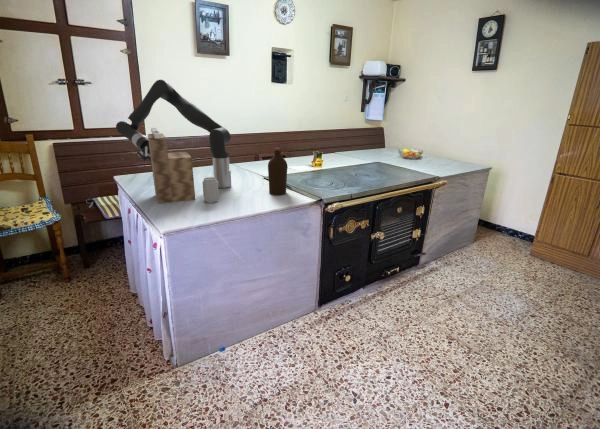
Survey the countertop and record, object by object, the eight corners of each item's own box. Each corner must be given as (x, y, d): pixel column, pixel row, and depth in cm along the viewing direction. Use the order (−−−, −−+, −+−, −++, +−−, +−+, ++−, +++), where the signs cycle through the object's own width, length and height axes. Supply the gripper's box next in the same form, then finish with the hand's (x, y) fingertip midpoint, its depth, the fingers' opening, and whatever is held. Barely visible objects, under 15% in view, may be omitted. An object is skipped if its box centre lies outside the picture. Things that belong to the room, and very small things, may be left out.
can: (204, 203, 171) (202, 180, 167) (203, 199, 178) (202, 176, 174) (219, 203, 173) (218, 179, 169) (218, 198, 180) (217, 176, 175)
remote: (156, 131, 181) (156, 127, 180) (161, 138, 159) (160, 133, 158) (151, 131, 180) (150, 127, 179) (155, 138, 158) (154, 133, 157)
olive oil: (275, 196, 184) (275, 150, 176) (264, 192, 192) (263, 147, 183) (291, 193, 191) (291, 148, 182) (279, 189, 198) (279, 145, 190)
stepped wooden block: (190, 191, 191) (184, 132, 180) (195, 199, 177) (189, 136, 166) (155, 194, 183) (147, 133, 172) (158, 203, 170) (149, 138, 159)
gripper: (155, 140, 196) (172, 153, 190) (133, 154, 190) (150, 168, 184) (150, 130, 190) (167, 143, 184) (128, 144, 184) (145, 158, 178)
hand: (159, 156), depth 184 cm, fingers open, 8 cm apart
